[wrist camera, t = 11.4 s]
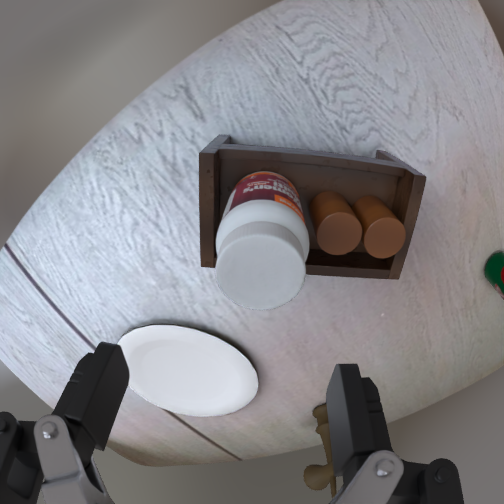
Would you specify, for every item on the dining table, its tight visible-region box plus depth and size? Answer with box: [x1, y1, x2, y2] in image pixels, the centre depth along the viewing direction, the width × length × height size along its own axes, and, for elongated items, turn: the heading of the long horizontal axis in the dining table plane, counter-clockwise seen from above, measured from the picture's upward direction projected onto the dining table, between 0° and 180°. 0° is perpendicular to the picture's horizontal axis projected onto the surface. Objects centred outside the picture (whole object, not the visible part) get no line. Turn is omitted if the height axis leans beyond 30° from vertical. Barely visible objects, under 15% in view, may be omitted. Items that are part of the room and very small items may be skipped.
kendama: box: [304, 404, 337, 499], centre depth 45 cm, size 6×10×20 cm, turn 148°
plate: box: [117, 324, 259, 417], centre depth 49 cm, size 25×25×2 cm
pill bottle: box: [215, 171, 309, 310], centre depth 22 cm, size 6×6×11 cm
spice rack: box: [199, 135, 426, 279], centre depth 28 cm, size 10×18×12 cm, turn 87°
